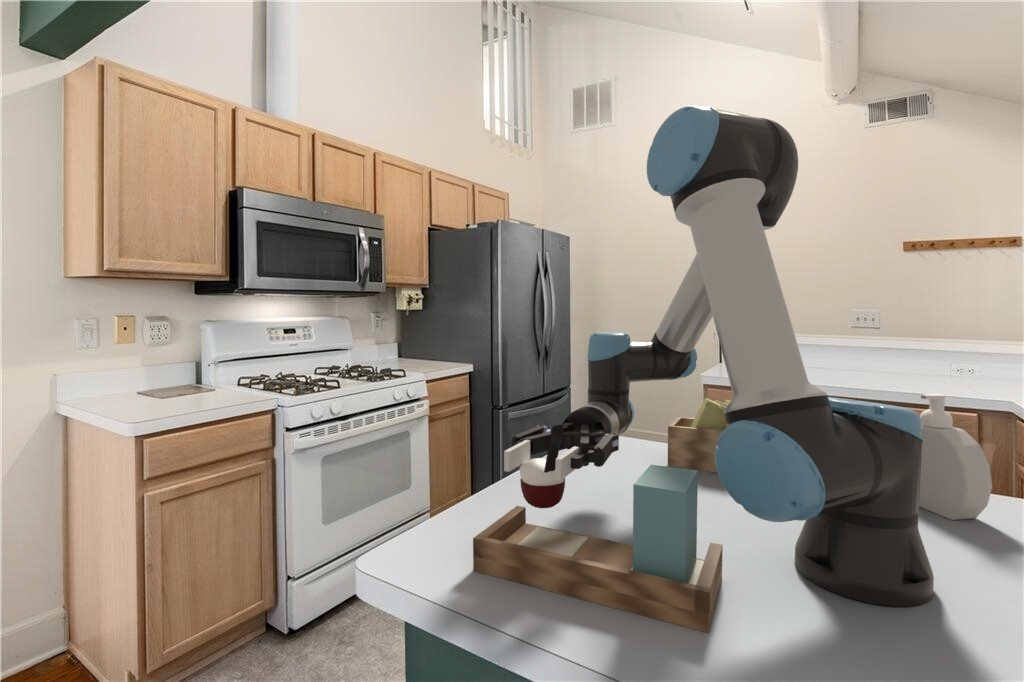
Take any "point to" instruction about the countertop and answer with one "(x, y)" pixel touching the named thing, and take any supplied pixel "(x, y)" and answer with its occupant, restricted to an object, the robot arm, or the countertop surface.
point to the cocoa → (543, 475)
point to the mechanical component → (711, 415)
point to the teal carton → (665, 522)
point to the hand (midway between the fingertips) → (531, 465)
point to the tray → (596, 571)
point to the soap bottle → (951, 466)
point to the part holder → (691, 445)
